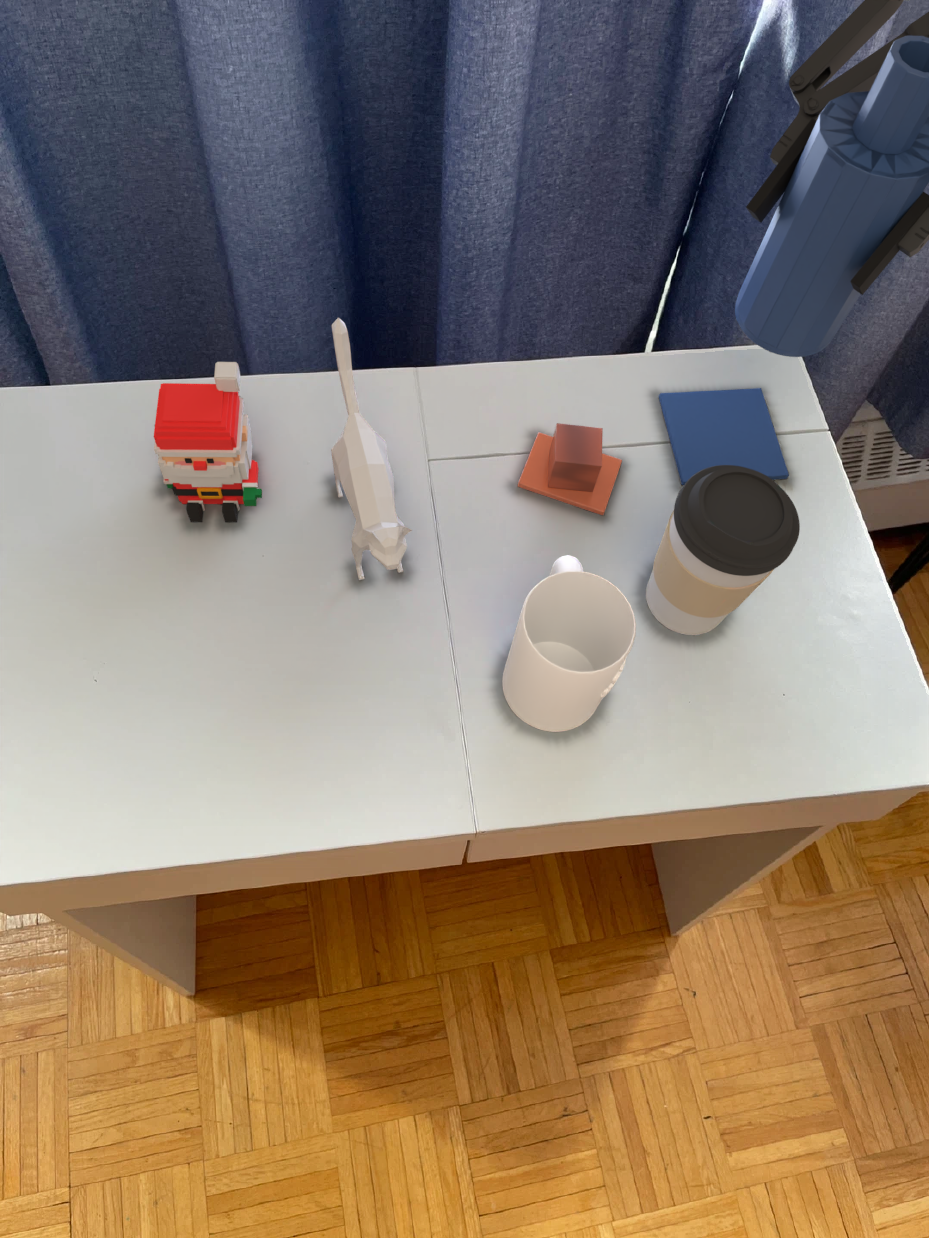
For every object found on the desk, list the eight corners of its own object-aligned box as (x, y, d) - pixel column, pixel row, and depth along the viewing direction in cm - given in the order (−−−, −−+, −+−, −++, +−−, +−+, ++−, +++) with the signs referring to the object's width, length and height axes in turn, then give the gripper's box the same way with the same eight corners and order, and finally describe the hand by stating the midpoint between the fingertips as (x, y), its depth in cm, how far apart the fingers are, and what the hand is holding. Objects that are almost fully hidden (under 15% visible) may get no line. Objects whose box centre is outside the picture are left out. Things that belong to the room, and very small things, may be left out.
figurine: (162, 522, 78) (127, 436, 68) (170, 453, 82) (137, 359, 71) (265, 523, 79) (247, 437, 68) (269, 454, 82) (252, 361, 71)
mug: (601, 600, 78) (635, 525, 68) (605, 736, 73) (643, 678, 62) (503, 593, 78) (522, 517, 67) (500, 729, 73) (520, 670, 62)
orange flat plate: (621, 463, 85) (622, 459, 84) (603, 516, 82) (604, 512, 82) (537, 435, 85) (538, 431, 85) (517, 486, 83) (517, 483, 82)
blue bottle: (856, 331, 73) (1020, 74, 54) (782, 372, 71) (926, 119, 52) (787, 265, 76) (920, -2, 57) (714, 303, 73) (827, 38, 54)
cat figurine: (365, 626, 76) (360, 538, 63) (319, 428, 84) (307, 315, 71) (419, 615, 77) (425, 526, 64) (368, 421, 85) (365, 307, 72)
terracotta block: (593, 455, 84) (602, 427, 80) (592, 492, 82) (602, 466, 79) (549, 450, 84) (556, 422, 80) (547, 487, 82) (554, 461, 79)
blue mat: (759, 391, 89) (761, 387, 89) (787, 479, 85) (789, 475, 85) (658, 397, 88) (660, 393, 88) (681, 485, 84) (683, 482, 84)
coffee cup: (661, 534, 82) (715, 429, 68) (755, 584, 80) (829, 487, 67) (615, 612, 78) (662, 517, 65) (712, 666, 76) (781, 581, 63)
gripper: (1216, 26, 56) (931, 348, 65) (925, -134, 61) (699, 183, 70) (1253, -36, 49) (930, 333, 58) (923, -209, 55) (674, 152, 64)
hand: (804, 251), depth 64 cm, fingers closed on blue bottle, 8 cm apart
